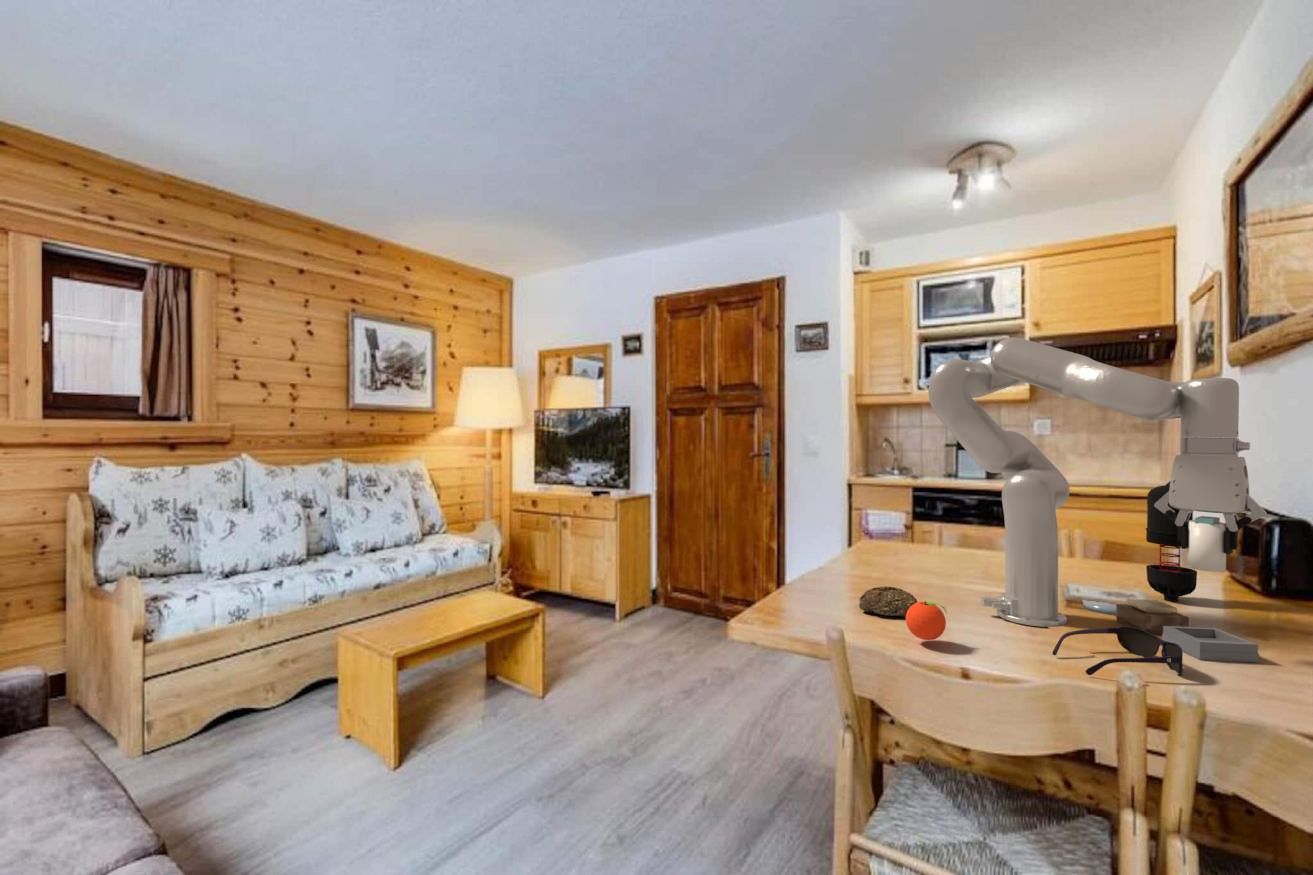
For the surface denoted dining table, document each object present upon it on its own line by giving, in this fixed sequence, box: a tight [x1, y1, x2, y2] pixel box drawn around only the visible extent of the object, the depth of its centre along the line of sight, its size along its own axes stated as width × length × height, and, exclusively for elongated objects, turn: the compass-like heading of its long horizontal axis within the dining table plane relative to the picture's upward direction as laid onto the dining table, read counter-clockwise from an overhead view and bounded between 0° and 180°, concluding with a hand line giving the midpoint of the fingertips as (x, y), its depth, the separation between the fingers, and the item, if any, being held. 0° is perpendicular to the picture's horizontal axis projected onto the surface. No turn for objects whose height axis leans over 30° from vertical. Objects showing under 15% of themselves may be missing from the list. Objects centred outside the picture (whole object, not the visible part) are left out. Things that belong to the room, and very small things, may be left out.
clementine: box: [905, 600, 948, 641], centre depth 112 cm, size 8×7×7 cm
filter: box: [1145, 481, 1198, 603], centre depth 139 cm, size 14×9×30 cm
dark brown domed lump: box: [858, 586, 918, 618], centre depth 133 cm, size 13×12×5 cm
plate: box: [1082, 599, 1116, 616], centre depth 131 cm, size 10×10×1 cm
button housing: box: [1115, 604, 1190, 635], centre depth 118 cm, size 8×8×4 cm
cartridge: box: [1187, 515, 1228, 573], centre depth 105 cm, size 5×5×9 cm
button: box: [1126, 598, 1178, 615], centre depth 118 cm, size 6×6×3 cm
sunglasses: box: [1052, 625, 1184, 676], centre depth 100 cm, size 14×16×5 cm
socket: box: [1161, 626, 1260, 663], centre depth 105 cm, size 9×9×3 cm
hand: (1206, 549), depth 105 cm, fingers closed on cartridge, 5 cm apart
